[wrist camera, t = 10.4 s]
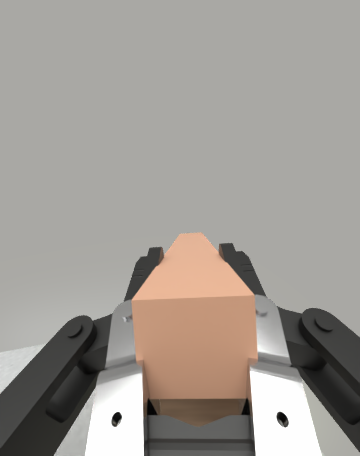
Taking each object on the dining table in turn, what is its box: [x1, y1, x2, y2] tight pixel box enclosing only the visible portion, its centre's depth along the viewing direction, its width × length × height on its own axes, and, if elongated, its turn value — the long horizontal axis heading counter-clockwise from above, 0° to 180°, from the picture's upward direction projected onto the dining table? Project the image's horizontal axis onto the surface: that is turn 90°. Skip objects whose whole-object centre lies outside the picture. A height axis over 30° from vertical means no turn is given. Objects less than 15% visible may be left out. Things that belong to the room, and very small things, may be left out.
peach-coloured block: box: [131, 233, 258, 399], centre depth 17 cm, size 24×4×3 cm, turn 177°
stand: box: [160, 399, 239, 427], centre depth 26 cm, size 16×8×32 cm, turn 177°
